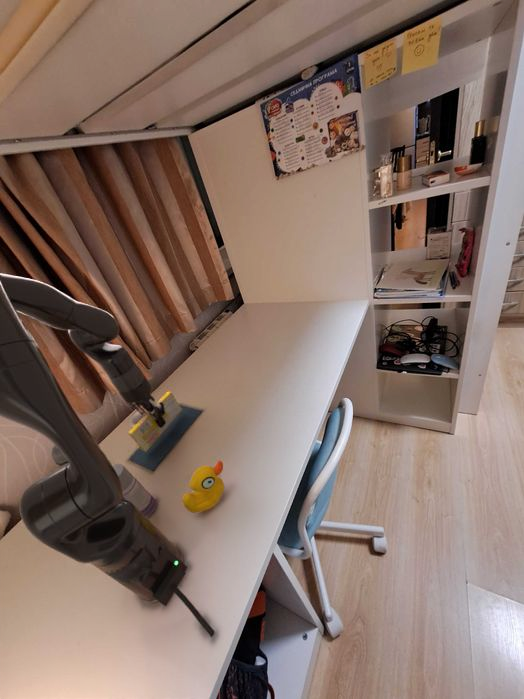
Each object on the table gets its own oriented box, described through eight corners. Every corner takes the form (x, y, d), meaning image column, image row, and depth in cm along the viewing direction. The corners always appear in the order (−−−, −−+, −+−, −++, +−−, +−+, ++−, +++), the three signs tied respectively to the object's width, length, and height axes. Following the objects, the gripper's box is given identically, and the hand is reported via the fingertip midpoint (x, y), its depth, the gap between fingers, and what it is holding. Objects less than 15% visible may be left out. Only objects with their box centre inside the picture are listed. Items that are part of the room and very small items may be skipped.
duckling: (228, 474, 71) (214, 449, 66) (239, 490, 67) (224, 464, 61) (187, 506, 67) (168, 483, 62) (196, 525, 63) (177, 501, 57)
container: (135, 508, 70) (100, 473, 62) (152, 494, 72) (120, 458, 64) (141, 522, 67) (105, 487, 59) (159, 507, 69) (126, 471, 61)
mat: (202, 411, 93) (202, 410, 92) (153, 470, 78) (153, 470, 78) (178, 405, 98) (178, 404, 98) (129, 459, 84) (128, 458, 84)
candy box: (178, 408, 93) (167, 390, 88) (183, 410, 92) (172, 391, 87) (141, 450, 83) (126, 432, 78) (146, 452, 81) (131, 434, 77)
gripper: (104, 387, 78) (136, 428, 87) (135, 395, 70) (167, 440, 80) (125, 369, 83) (154, 410, 92) (157, 375, 75) (184, 419, 85)
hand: (159, 424), depth 86 cm, fingers closed on candy box, 2 cm apart
